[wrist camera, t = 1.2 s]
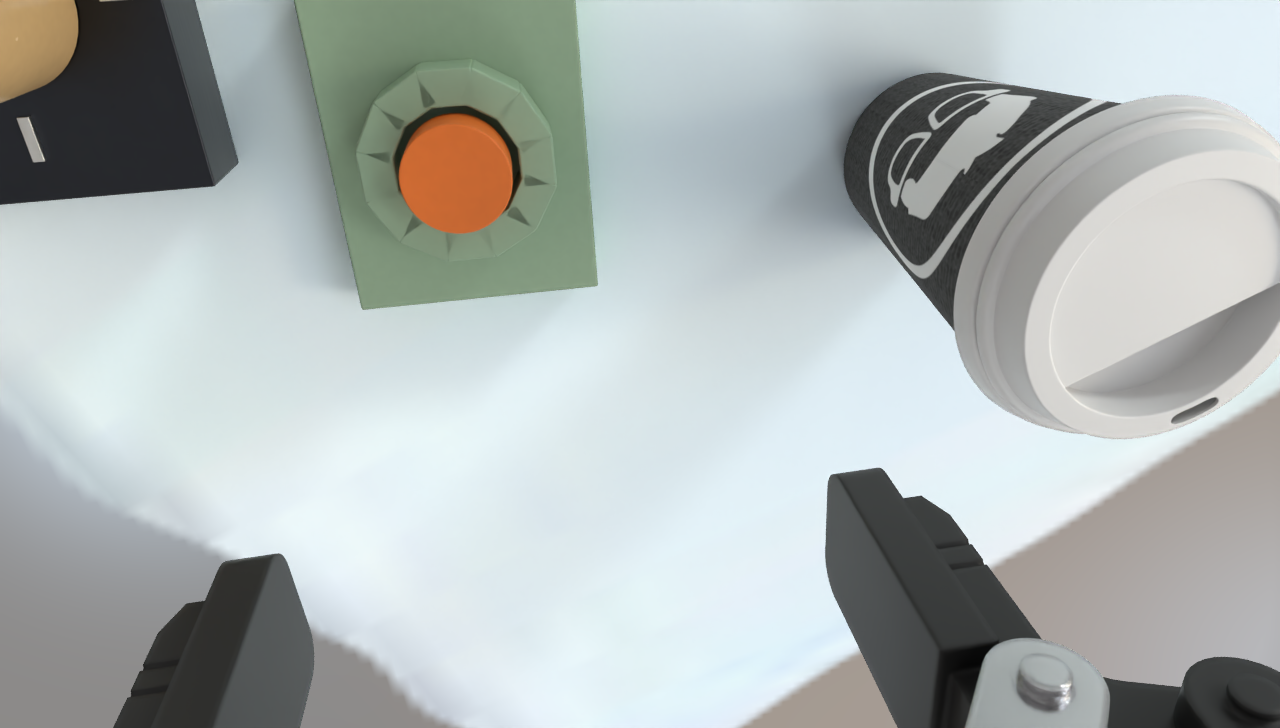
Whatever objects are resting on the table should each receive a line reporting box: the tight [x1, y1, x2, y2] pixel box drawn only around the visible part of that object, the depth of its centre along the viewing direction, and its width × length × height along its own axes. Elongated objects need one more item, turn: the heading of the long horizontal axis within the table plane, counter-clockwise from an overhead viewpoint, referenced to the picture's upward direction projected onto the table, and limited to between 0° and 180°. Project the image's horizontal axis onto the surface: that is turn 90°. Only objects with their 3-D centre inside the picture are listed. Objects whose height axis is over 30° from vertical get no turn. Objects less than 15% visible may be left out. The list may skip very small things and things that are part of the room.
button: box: [399, 113, 513, 234], centre depth 29 cm, size 4×4×2 cm
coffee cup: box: [844, 73, 1280, 439], centre depth 28 cm, size 10×10×15 cm
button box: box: [294, 0, 598, 310], centre depth 31 cm, size 11×9×4 cm
